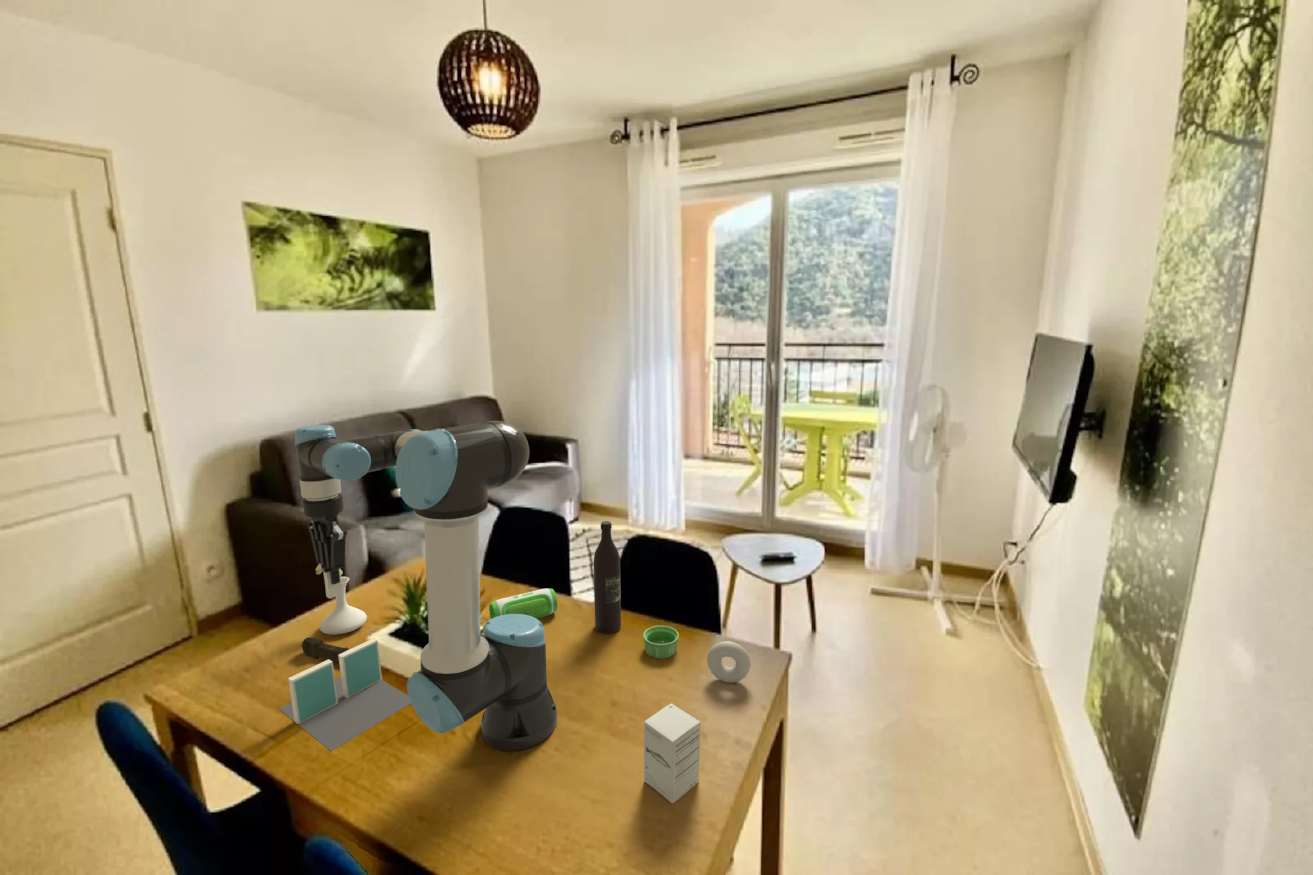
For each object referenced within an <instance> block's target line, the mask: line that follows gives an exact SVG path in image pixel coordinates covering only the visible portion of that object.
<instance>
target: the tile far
mask: <svg viewBox="0 0 1313 875" xmlns="http://www.w3.org/2000/svg"><path fill="white" fill-rule="evenodd" d="M349 649H350V650H347V651H345V652H343V653H341V654H339V655H338V657H339V663H338V664H339V670H340V673H339V674H340V677H341V681H342V689H343V696H345V697H346V698H349V697H351V696H352V695H354V694H356V693H358V692H360V691H362V690H364V689H365V688H367V687H369V686H371V685H373V684H375V683H377V682H378V681H380V680H383V676H382V669H381V668H382V667H381V659H380V650H379V641H378V639H376V638H371V639H370V640H367V641H365V642H363V643H360V644H359V645H356V646H354V647H352V648H349Z"/></svg>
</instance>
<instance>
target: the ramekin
mask: <svg viewBox="0 0 1313 875" xmlns="http://www.w3.org/2000/svg"><path fill="white" fill-rule="evenodd" d="M679 636H680V634H679V632H678V631H677V629H675V628H673V627H671V626H668V625H654V626H653V625H652V626H651V627H649V628H647V629H645V631H644V632H643V636H642V637H643V641H644V642H643V643H644V650H645V653H646V652H647V653H646V654H647V655H648V656H649V655H650V656H649V657H651V656H653V657H652V658H654V657H655V658H654V659H658V658H664V659H667V658H666V657H669V656H671V655H673V654H674V655H676V653H677V651H676V650H678V642H679V641H678V640H679ZM662 641H664V642H662ZM675 652H676V653H675ZM674 655H673V656H674ZM671 657H672V656H671ZM669 658H670V657H669Z"/></svg>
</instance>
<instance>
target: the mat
mask: <svg viewBox="0 0 1313 875" xmlns="http://www.w3.org/2000/svg"><path fill="white" fill-rule="evenodd" d="M335 684H336V692H337V700H338V703H337V704H336V705H334V706H332V707H330V708H328V709H326V710H324V711H323V712H321V713H319V714H317V715H315V716H313V717H311V718H309V719H308V720H306V721H304V722H302V723H300V724H297V725H298V726H299V727H300V728H301V729H303V730H304V731H305V732H307V733H308V734H309V735H311V737H312V738H314V739H315V740H317V741H318V742H319V743H320V744H322V746H324V747H325V748H326V749H328V750H329V752H333V751H334V750H336V749H337V748H339V747H341V746H343V745H344V744H346V743H348V742H349V741H351V740H352V739H355V738H356V737H358V736H360V735H361V734H362V733H364V732H366V731H368V730H370V729H371V728H372V727H375V726H376V725H378V724H379V723H381V722H383V721H384V720H386V719H388V718H389V717H392V716H393V715H394V714H396V713H398V712H399V711H401V710H403V709H404V708H406V707H407V706H410V705H412V704H411V701H410V699H409V696H408V694H407V693H405V692H402V691H401V690H400V689H398V688H396V687H395V686H393V685H392V684H390V683H388V682H387V681H385V680H383V679H382V680H380V681H378V682H377V683H375V684H373V685H371V686H369V687H367V688H365V689H364V690H362V691H360V692H358V693H356V694H354V695H352V696H351V697H349V698H346V697H345V696H343V689H342V681H341V676H340V677H338V678H337V679H336V678H335ZM278 709H279V711H281V712H282V713H283V714H284V715H285V716H287V717H288V718H289V719H291V721H293V722H294V723H296V722H295V721H294V714H293V708H292V701H291V702H289V703H287V704H285V705H283V706H281V707H279V708H278Z"/></svg>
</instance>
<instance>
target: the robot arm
mask: <svg viewBox="0 0 1313 875" xmlns="http://www.w3.org/2000/svg"><path fill="white" fill-rule="evenodd" d="M336 434H337V433H336V432H335V428H334V426H332V425H329V424H314V425H313V424H312V425H304V426H300V427H298V428H296V430H295V431H294V448H295V452H296V460H297V467H298V473H299V486H300V493H301V497H302V498H303V500H302V506H303V507H302V508H303V514H304V515H305V517H307V518H310V519H311V520H310V521H307V522H306V527H307V529H308V532H309V535H310V539H311V543H312V547H313V553H314V555H315V560H316V564H317V565H319V564H321V567H322V569H323V571H322V572H323V578H324V586H325V596H326V598H328V599H332V598H336V596H338V595H341V594H342V589H341V580H340V577H341V576H340V572H339V569H343V568H345V566H346V565H345V564H346V559H345V558H346V539H347V534H348V532H347V529H341V528H340V521H339V517H338V515H339V514H340V513H341V512H343V511H344V509H345V508H344V500H343V494H341V493H342V486H341V481H347V482H348V481H356V480H359V479H361V478H362V477H363V476H365V475H366V474H367V473H371V472H376V471H381V470H384V469H388V468H395V481H396V486H397V488H398V489H400V491H399V495H400V497H401V498H402V500H403V501H404V503H405V504H406V505H407V506H408V507H410V508H412V509H413V514H414V515H415V516H416V517H418V518H419V519H421V520H422V521H423V523H424V526H423V528H424V550H425V551H424V552H425V574H426V598H427V621H428V622H427V624H428V643H427V644H426V645H425V646H424V647H423V649H422V651H421V653H420V658H419V659H420V660H419V661H420V670H418V671H415V672H413V673H412V674H411V675H410V676H409V678H408V679H407V682H406V691H407V695H408V696H409V699H410V701H411V704H410V705H411V706H412V707H413V710H414V711H415V713H416V715H417V717H418V718H419V719H420V720H421V722H422V723H423V724H424V725H425V726H426V727H427V728H428V729H430V730H431V731H433V732H435V733H437V734H446V733H449V732H451V731H452V730H454V729H456V728H459V727H460V726H462V725H464V724H465V723H466V722H467V721H469V720H471V719H472V718H473V717H475V716H476V715H478V714H479V713H482V711H483V713H482V717H481V722H480V725H481V734H482V735H481V736H482V738H483V740H484V742H486V744H488V745H489V746H490V747H491V748H494V749H497V750H500V751H509V752H514V751H522V750H526V749H530V748H532V747H535V746H537V745H538V744H540V743H542V742H544V741H546V739H548V737H550V735H551V734H552V733H553V732H554V730H555V729H556V727H557V722H558V713H557V712H558V709H557V706H556V702H555V701H554V698H553V696H552V693H551V691H550V689H549V687H548V681H547V680H548V678H547V652H546V651H547V650H546V649H547V648H546V643H547V638H546V637H545V628H544V625H543V623H542V622H541V621H540V620H539V619H536V618H534V617H532V616H528V615H523V614H506V615H501V616H497V617H494V618H492V619H491V618H489V620H488V621H486V622H485V625H484V626H483V630H482V634H484V635H481V598H480V597H481V595H480V594H481V590H480V588H481V587H480V582H481V581H480V533H479V532H480V530H479V529H480V526H479V525H480V524H479V517H480V516H482V515H483V514H484V513H485V512H486V511H487V509H488V507H489V506H488V504H489V501H488V493H489V491H490V490H493V489H496V488H499V487H502V486H505V485H507V484H510V483H511V482H513V481H515V480H516V479H517V478H518V477H519V476H520V475H521V474H522V473H523V472H524V470H525V469H526V467H527V466H528V463H529V459H530V446H529V443H528V442H529V441H528V440H527V438H526V435H525V434H524V433H523V432H522V430H521V429H520V428H519V427H517V426H516V425H514V424H512V423H509V422H507V421H503V420H488V421H487V420H486V421H481V422H478V423H477V422H476V423H472V424H471V423H470V424H465V425H457V426H453V427H451V426H450V427H444V428H434V429H431V430H420V429H418V428H417V429H416V428H415V429H402V430H400V431H394V432H388V433H383V434H376V435H375V434H374V435H367V436H363V437H357V438H350V439H344V440H343V439H341V440H340V439H337V435H336Z"/></svg>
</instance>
